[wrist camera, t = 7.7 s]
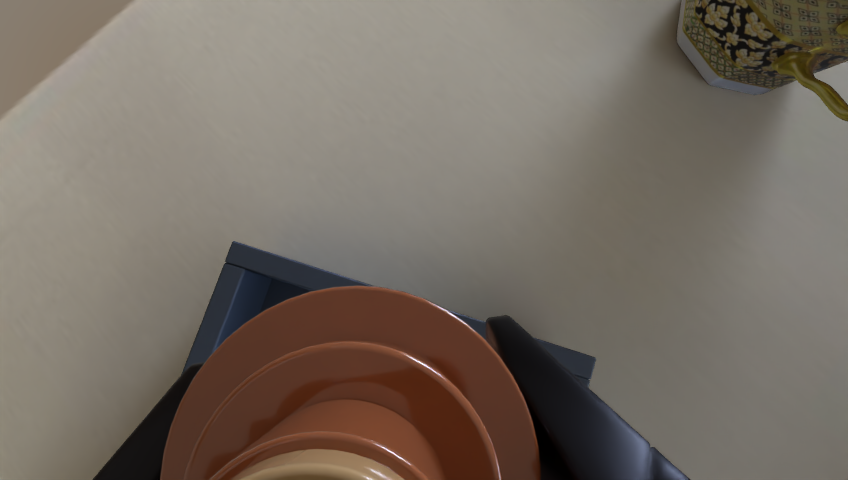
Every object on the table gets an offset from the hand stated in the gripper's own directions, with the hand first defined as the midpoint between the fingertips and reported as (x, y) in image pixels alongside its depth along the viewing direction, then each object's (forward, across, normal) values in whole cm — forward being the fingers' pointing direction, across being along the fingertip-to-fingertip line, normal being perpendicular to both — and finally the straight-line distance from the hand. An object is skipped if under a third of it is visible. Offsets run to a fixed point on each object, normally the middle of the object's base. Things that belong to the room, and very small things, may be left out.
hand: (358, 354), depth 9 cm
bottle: (+4, 0, +5) cm, 6 cm away
